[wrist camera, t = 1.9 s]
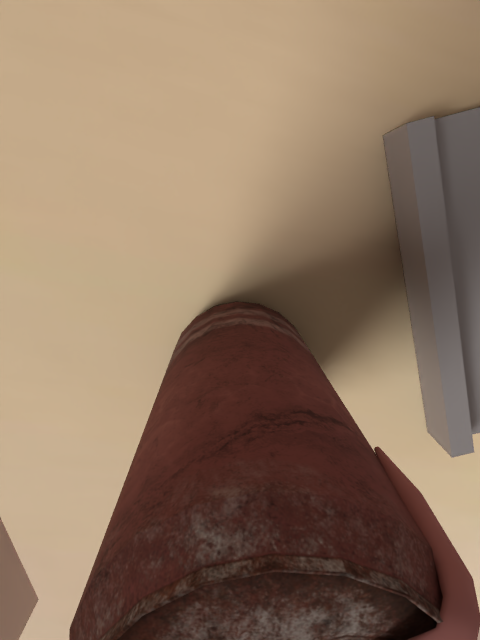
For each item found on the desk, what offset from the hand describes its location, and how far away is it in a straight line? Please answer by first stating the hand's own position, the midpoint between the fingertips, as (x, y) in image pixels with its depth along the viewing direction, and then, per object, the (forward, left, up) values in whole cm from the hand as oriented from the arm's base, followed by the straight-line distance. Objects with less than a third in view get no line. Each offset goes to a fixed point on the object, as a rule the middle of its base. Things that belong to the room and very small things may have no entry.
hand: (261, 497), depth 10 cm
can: (0, 0, -9) cm, 9 cm away
